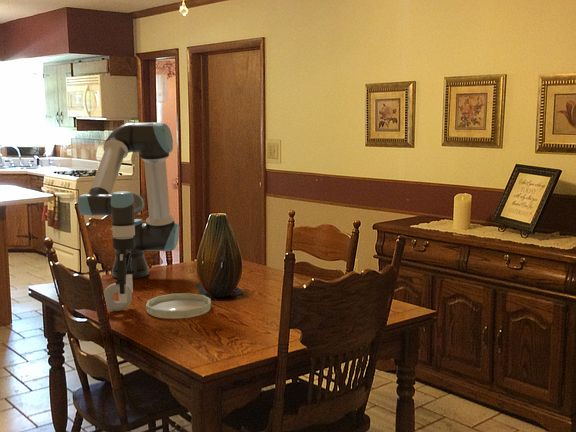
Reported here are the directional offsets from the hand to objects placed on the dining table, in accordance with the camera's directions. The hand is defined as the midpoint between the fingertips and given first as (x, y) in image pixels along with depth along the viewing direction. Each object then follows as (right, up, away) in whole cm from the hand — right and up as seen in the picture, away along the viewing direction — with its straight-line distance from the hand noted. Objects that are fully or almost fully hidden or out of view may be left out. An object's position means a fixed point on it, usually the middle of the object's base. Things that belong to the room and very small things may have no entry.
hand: (126, 297), depth 234 cm
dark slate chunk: (+29, -1, +28) cm, 40 cm away
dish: (+18, -4, +3) cm, 19 cm away
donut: (-3, -5, +1) cm, 6 cm away
